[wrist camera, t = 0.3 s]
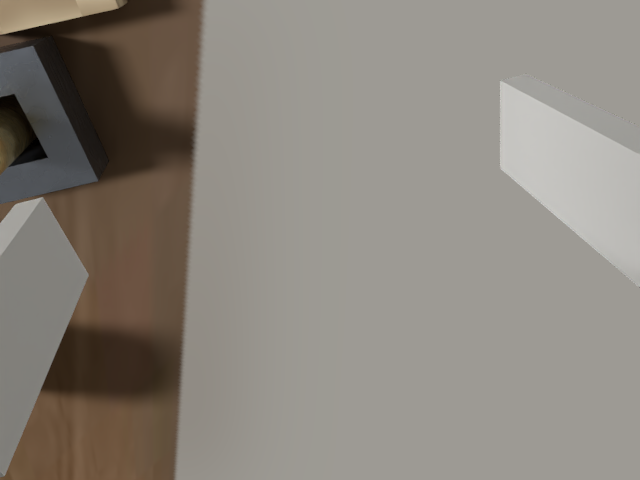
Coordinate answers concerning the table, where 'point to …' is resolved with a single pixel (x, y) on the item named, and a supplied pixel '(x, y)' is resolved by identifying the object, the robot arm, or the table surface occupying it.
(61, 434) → the table surface
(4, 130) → the peg
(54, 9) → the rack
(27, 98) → the socket
